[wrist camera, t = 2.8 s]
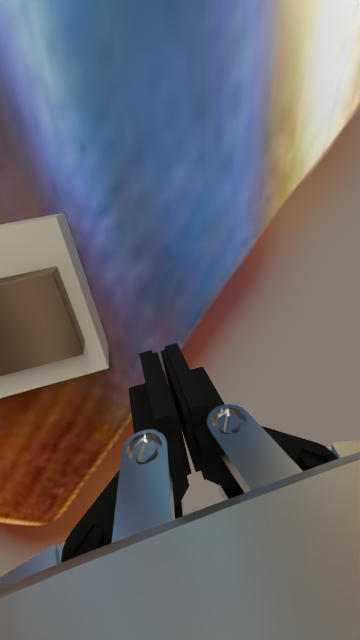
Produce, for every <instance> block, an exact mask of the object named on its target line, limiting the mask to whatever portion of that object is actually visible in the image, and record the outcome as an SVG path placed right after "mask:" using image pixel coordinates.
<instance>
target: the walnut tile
mask: <svg viewBox="0 0 360 640" xmlns="http://www.w3.org/2000/svg"><path fill="white" fill-rule="evenodd" d="M84 346H85V339H84V337H83V334H82V331H81V329H80V326H79V323H78V321H77V318H76V315H75V313H74V310H73V307H72V305H71V302H70V299H69V297H68V294H67V291H66V289H65V286H64V283H63V281H62V278H61V275H60V273H59V270H58V267H57V266H55V267H51V268H46V269H41V270H37V271H32V272H27V273H23V274H18V275H13V276H9V277H4V278H0V376H3V375H7V374H11V373H15V372H19V371H22V370H26V369H30V368H34V367H38V366H41V365H45V364H49V363H53V362H56V361H60V360H64V359H68V358H72V357H75V356H79V355H83V353H84Z"/></svg>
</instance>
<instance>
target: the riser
mask: <svg viewBox="0 0 360 640" xmlns="http://www.w3.org/2000/svg"><path fill="white" fill-rule="evenodd" d="M55 266H57V267H58V270H59V273H60V275H61V278H62V281H63V283H64V286H65V289H66V291H67V294H68V297H69V299H70V302H71V305H72V307H73V310H74V313H75V315H76V318H77V321H78V323H79V326H80V329H81V331H82V334H83V337H84V339H85V346H84V353H83V355H79V356H75V357H72V358H68V359H64V360H60V361H56V362H53V363H49V364H45V365H41V366H38V367H34V368H30V369H26V370H22V371H19V372H15V373H11V374H7V375H3V376H0V398H2V397H6V396H10V395H13V394H17V393H21V392H24V391H28V390H32V389H35V388H39V387H42V386H46V385H50V384H53V383H57V382H61V381H64V380H68V379H72V378H75V377H79V376H82V375H86V374H90V373H93V372H97V371H101V370H104V369H108V368H109V354H108V342H107V339H106V336H105V333H104V330H103V327H102V324H101V321H100V318H99V315H98V312H97V309H96V306H95V303H94V300H93V297H92V294H91V291H90V288H89V285H88V282H87V279H86V276H85V273H84V270H83V267H82V264H81V261H80V258H79V255H78V252H77V249H76V246H75V243H74V240H73V237H72V234H71V231H70V228H69V225H68V222H67V219H66V216H65V213H59V214H54V215H48V216H43V217H38V218H32V219H27V220H22V221H16V222H11V223H6V224H1V225H0V278H4V277H9V276H13V275H18V274H23V273H27V272H32V271H37V270H41V269H46V268H51V267H55Z"/></svg>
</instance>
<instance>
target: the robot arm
mask: <svg viewBox="0 0 360 640" xmlns="http://www.w3.org/2000/svg"><path fill="white" fill-rule="evenodd" d="M139 354H140V359H141V364H142V368H143V373H144V377H145V382H146V383H144V384H141V385H137V386H134V387H131V388H129V395H130V404H131V412H132V420H133V428H134V435H132V436H131V437H130V438H129V439H128V440H127V441H126V443H125V445H124V446H123V450H122V455H121V463H120V470H119V471H118V473H117V474H116V475H115V477H114V478H113V479H112V480H111V482H110V483H109V484H108V485H107V487H106V488H105V489H104V490H103V492H102V493H101V494H100V496H99V497H98V498H97V499H96V501H95V502H94V503H93V505H92V506H91V507H90V508H89V510H88V511H87V512H86V513H85V515H84V516H83V517H82V519H81V520H80V521H79V522H78V524H77V525H76V526H75V528H74V529H73V530H72V531H71V533H70V535H69V536H68V538H67V540H66V542H65V543H64V544H62V545H60V546H59V547H56V546H55V545H53V546H51V547H50V548H48V549H46V550H45V551H43V552H41V553H40V554H38V555H36V556H35V557H33V558H32V559H30V560H28V561H27V562H25V563H23V564H22V565H20V566H18V567H17V568H15V569H13V570H12V571H10V572H9V573H7V574H5V575H4V576H2V577H0V640H360V440H359V441H351V442H341V443H333V444H332V447H329V448H326V447H325V446H323V445H321V444H318V443H316V442H312V441H309V440H306V439H302V438H299V437H296V436H292V435H289V434H286V433H282V432H279V431H276V430H272V429H269V428H266V427H262V426H260V425H259V424H258V423H257V422H256V420H255V419H254V418H253V417H252V416H251V415H250V414H249V413H248V412H247V411H246V410H245V409H243V408H242V407H239V406H237V405H232V404H228V405H225V404H224V402H223V401H222V399H221V397H220V395H219V394H218V392H217V390H216V389H215V387H214V385H213V383H212V382H211V380H210V378H209V376H208V375H207V373H206V371H205V370H204V368H203V367H199V368H196V369H192V370H190V369H189V367H188V365H187V363H186V361H185V359H184V356H183V354H182V352H181V350H180V348H179V346H178V344H177V343H176V344H172V345H168V346H165V350H163V351H161V354H162V358H163V363H164V367H165V371H166V376H167V380H168V383H167V380H166V377H165V374H164V371H163V368H162V365H161V362H160V359H159V356H158V353H157V352H155V353H152V350H150V351H147V352H143V353H139ZM168 384H169V386H168ZM169 388H170V389H169ZM181 429H182V430H181ZM182 432H183V434H182ZM183 435H184V438H185V441H186V444H187V447H188V450H189V453H190V456H191V459H192V462H193V465H194V468H195V471H196V472H198V471H201V472H202V475H203V477H204V479H207V480H209V481H211V482H213V483H216V484H217V485H218V488H219V491H220V493H221V494H222V496H223V498H224V500H225V501H222V502H220V503H217V504H215V505H212V506H209V507H206V508H204V509H201V510H198V511H196V512H193V513H190V514H188V515H184V506H183V501H182V498H183V496H184V494H185V493H186V491H187V489H188V487H189V484H188V479H187V475H189V474H191V469H190V465H189V461H188V456H187V452H186V447H185V443H184V439H183Z"/></svg>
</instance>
